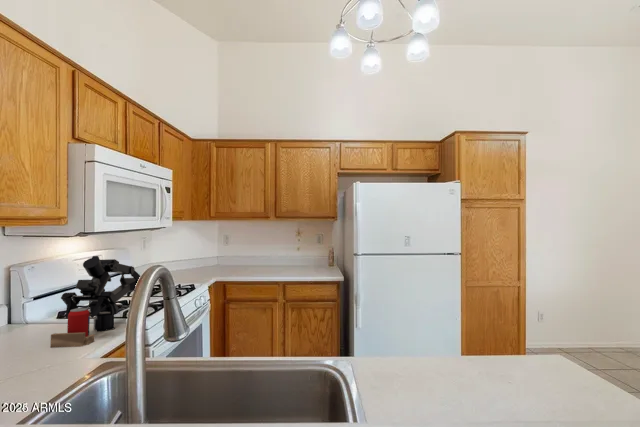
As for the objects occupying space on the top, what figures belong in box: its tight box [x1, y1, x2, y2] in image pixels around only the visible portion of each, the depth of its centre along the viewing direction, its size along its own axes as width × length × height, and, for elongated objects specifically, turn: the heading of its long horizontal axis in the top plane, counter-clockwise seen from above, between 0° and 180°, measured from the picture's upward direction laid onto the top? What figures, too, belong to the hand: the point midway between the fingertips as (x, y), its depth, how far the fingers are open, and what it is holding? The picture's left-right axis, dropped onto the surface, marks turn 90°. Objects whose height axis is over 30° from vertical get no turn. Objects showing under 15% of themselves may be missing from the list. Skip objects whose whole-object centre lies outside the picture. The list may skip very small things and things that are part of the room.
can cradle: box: [50, 332, 95, 348], centre depth 122 cm, size 6×12×4 cm, turn 93°
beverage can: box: [66, 307, 91, 337], centre depth 126 cm, size 7×7×12 cm
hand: (79, 317), depth 126 cm, fingers open, 9 cm apart
